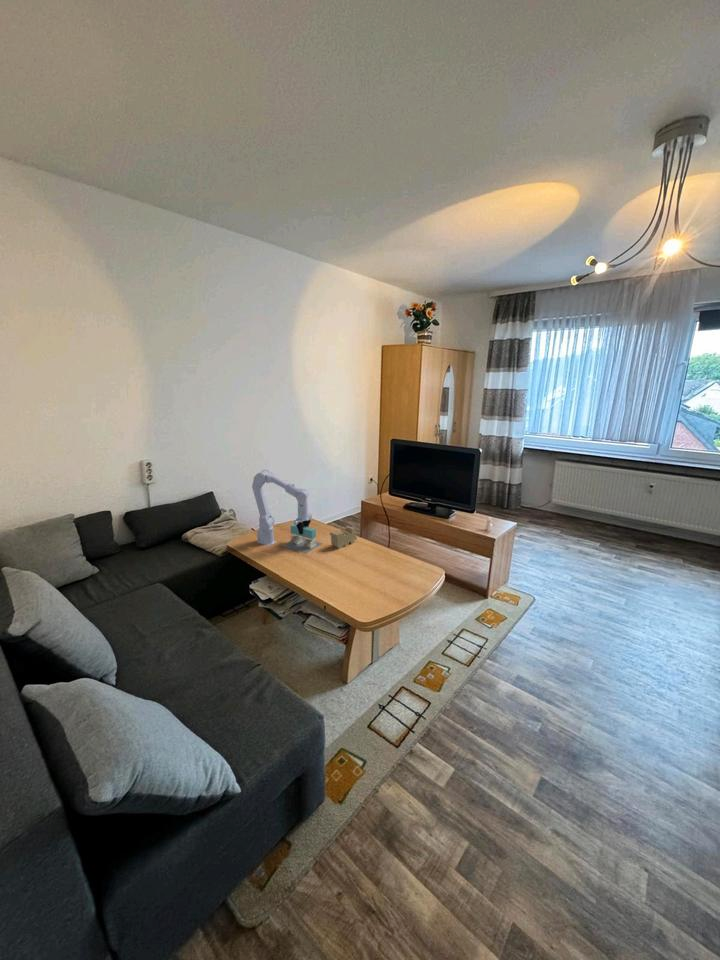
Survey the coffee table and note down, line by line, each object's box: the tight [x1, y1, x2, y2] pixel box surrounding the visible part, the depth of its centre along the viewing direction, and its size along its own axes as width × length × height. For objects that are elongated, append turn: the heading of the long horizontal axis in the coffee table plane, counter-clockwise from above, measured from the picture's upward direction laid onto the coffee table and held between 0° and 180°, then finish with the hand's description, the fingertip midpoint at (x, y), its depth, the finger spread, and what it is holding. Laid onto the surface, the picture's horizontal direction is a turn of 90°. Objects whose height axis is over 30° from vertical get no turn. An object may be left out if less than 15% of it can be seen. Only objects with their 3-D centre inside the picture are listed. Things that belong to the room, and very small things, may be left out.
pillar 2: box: [304, 538, 317, 549], centre depth 223 cm, size 5×5×4 cm
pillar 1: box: [290, 534, 304, 545], centre depth 228 cm, size 5×5×4 cm
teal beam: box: [290, 523, 317, 539], centre depth 224 cm, size 16×4×5 cm, turn 59°
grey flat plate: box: [282, 537, 323, 554], centre depth 226 cm, size 18×16×1 cm
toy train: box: [329, 525, 358, 549], centre depth 226 cm, size 6×17×10 cm, turn 136°
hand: (303, 532), depth 225 cm, fingers closed on teal beam, 4 cm apart
